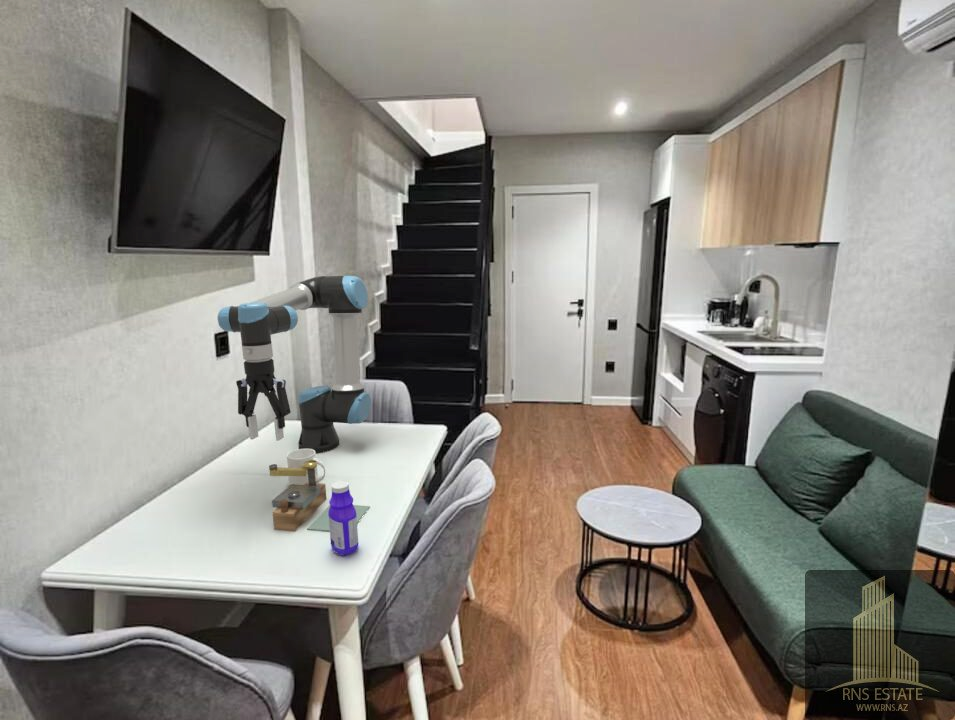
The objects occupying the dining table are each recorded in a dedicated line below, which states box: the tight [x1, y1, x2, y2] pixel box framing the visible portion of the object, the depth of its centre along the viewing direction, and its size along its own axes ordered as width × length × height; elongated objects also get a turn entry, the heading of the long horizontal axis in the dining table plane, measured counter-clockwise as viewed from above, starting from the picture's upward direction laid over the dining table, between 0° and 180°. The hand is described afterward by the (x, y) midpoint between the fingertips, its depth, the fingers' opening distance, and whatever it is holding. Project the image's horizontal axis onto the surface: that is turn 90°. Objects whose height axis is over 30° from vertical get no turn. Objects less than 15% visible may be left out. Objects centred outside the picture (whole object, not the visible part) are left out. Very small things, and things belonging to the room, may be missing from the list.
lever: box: [268, 460, 318, 477], centre depth 147 cm, size 14×4×4 cm, turn 87°
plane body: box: [272, 468, 327, 532], centre depth 141 cm, size 18×6×11 cm, turn 170°
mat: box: [307, 504, 371, 533], centre depth 139 cm, size 14×12×1 cm
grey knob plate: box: [271, 484, 321, 510], centre depth 139 cm, size 10×9×3 cm
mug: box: [286, 448, 326, 486], centre depth 158 cm, size 9×12×11 cm
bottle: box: [328, 480, 359, 556], centre depth 122 cm, size 7×6×17 cm
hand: (267, 438), depth 142 cm, fingers open, 7 cm apart
